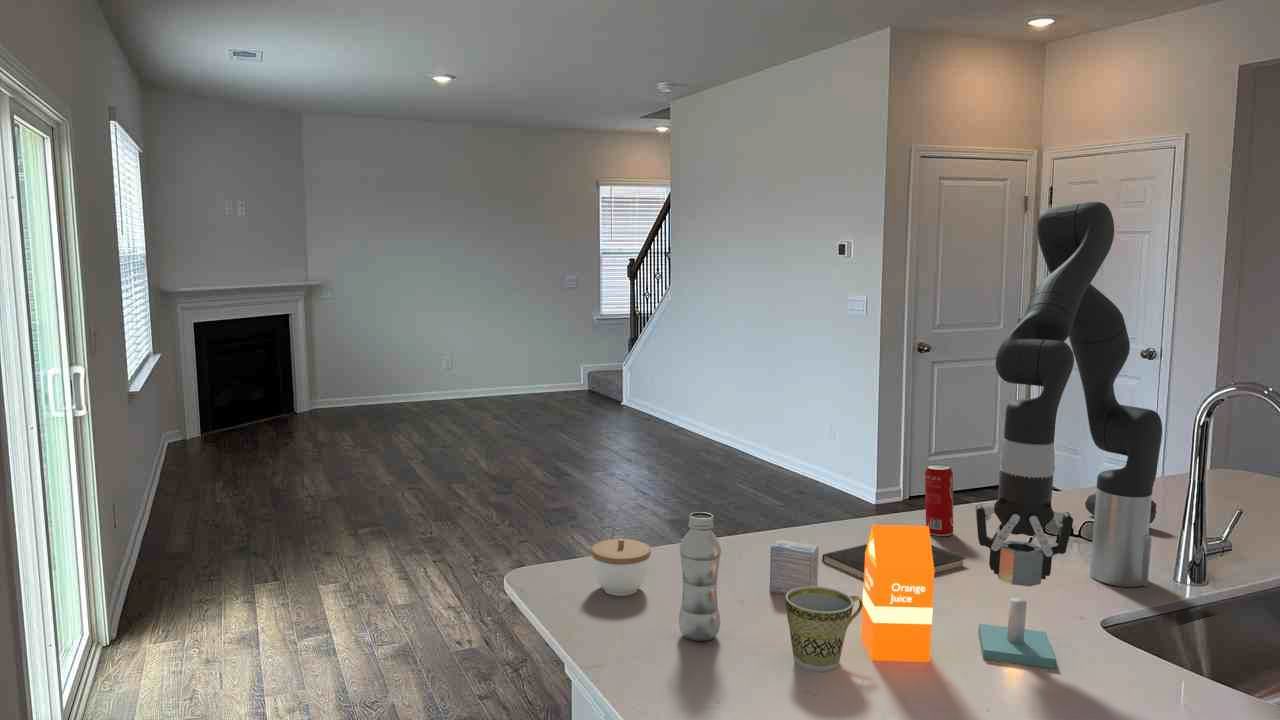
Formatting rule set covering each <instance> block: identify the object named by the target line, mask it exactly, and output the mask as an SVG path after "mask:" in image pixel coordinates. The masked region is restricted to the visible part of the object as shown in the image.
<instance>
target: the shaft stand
mask: <svg viewBox="0 0 1280 720" xmlns="http://www.w3.org/2000/svg"><path fill="white" fill-rule="evenodd" d="M1027 604H1028V603H1027V600H1026V599H1023V598H1021V597H1011V598H1009V608H1008V620H1007V621H1008V622H1007V623H1008V624H1007V626H1003V625H1002V626H1001V625H994V624H986V623H978V638H979V644H980V649H981V655H982V659H983V660H987V661H993V662H994V661H995V662H1001V663H1008V664H1009V663H1011V664H1017V665H1025V666H1031V667H1038V668H1039V667H1040V668H1047V669H1056V668H1055V667H1056V666H1055V665H1056V657H1055V655H1054V652H1053V648H1052V645H1051V643H1050V640H1049V637H1048V634H1047V632H1046V631H1042V630H1033V629H1025V628H1026V627H1025V626H1026V617H1027V616H1026V615H1027Z"/></svg>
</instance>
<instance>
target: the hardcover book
mask: <svg viewBox="0 0 1280 720" xmlns="http://www.w3.org/2000/svg"><path fill="white" fill-rule="evenodd" d="M867 544H868V543H867ZM867 544H862V545H857V546H853V547H848V548H845V549H840V550H839V549H838V550H836V551H831V552H827V553H823V554H822V557H821V558H822V559H821V562H822V561H826V562H828V563H830V564H829V565H831V564H832V565H831V566H833V565H835V566H837V567H839V568H838V569H840V568H841V569H840V570H842V569H844V570H846V571H845V572H847V571H848V572H847V573H849V572H850V573H849V574H851V573H852V574H851V575H853V574H855V575H854V576H856V575H857V576H856V577H858V576H859V577H858V578H860V577H861V578H860V579H862V578H864V567H865V551H866V548H867ZM931 548H932V556H933V564H934V569H935V571H934V574H936V573H941V572H943V571H947V570H950V569H956V568H959V567H962V566H964V560H966V559H967V558H966V556H964V555H959V554H957V553H954V552H951V551H949V550H946V549H943V548H941V547H938V546H935V545H933V544H931ZM826 562H825V563H826ZM828 563H827V564H828ZM835 566H834V567H835ZM837 567H836V568H837ZM844 570H843V571H844Z"/></svg>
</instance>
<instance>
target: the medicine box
mask: <svg viewBox="0 0 1280 720" xmlns="http://www.w3.org/2000/svg"><path fill="white" fill-rule="evenodd" d="M819 548H820V547H819V546H818V545H816V544H810V543H809V544H808V543H802V542H797V541H789V540H781V539H777V540H776V541H775V542H774V543H773V544H772V545H771V546H770V556H769V557H770V559H769V566H770V567H769V592H772V593H778V594H784V595H786V594H787V593H788V592H789V591H791V590H793V589H795V588H800V587H809V586H815V587H819V586H818V584H819V583H818V581H819V579H818V577H819V575H818V574H819V550H820V549H819Z"/></svg>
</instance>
